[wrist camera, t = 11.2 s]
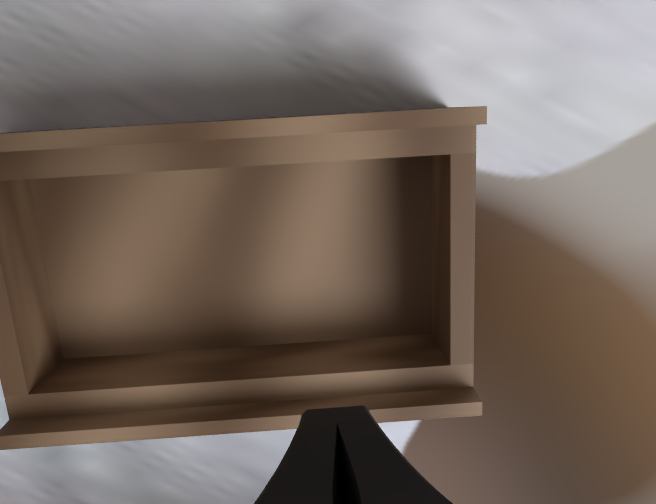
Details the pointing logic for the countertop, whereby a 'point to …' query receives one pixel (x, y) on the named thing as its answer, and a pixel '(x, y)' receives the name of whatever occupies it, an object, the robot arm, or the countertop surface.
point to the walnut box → (236, 274)
